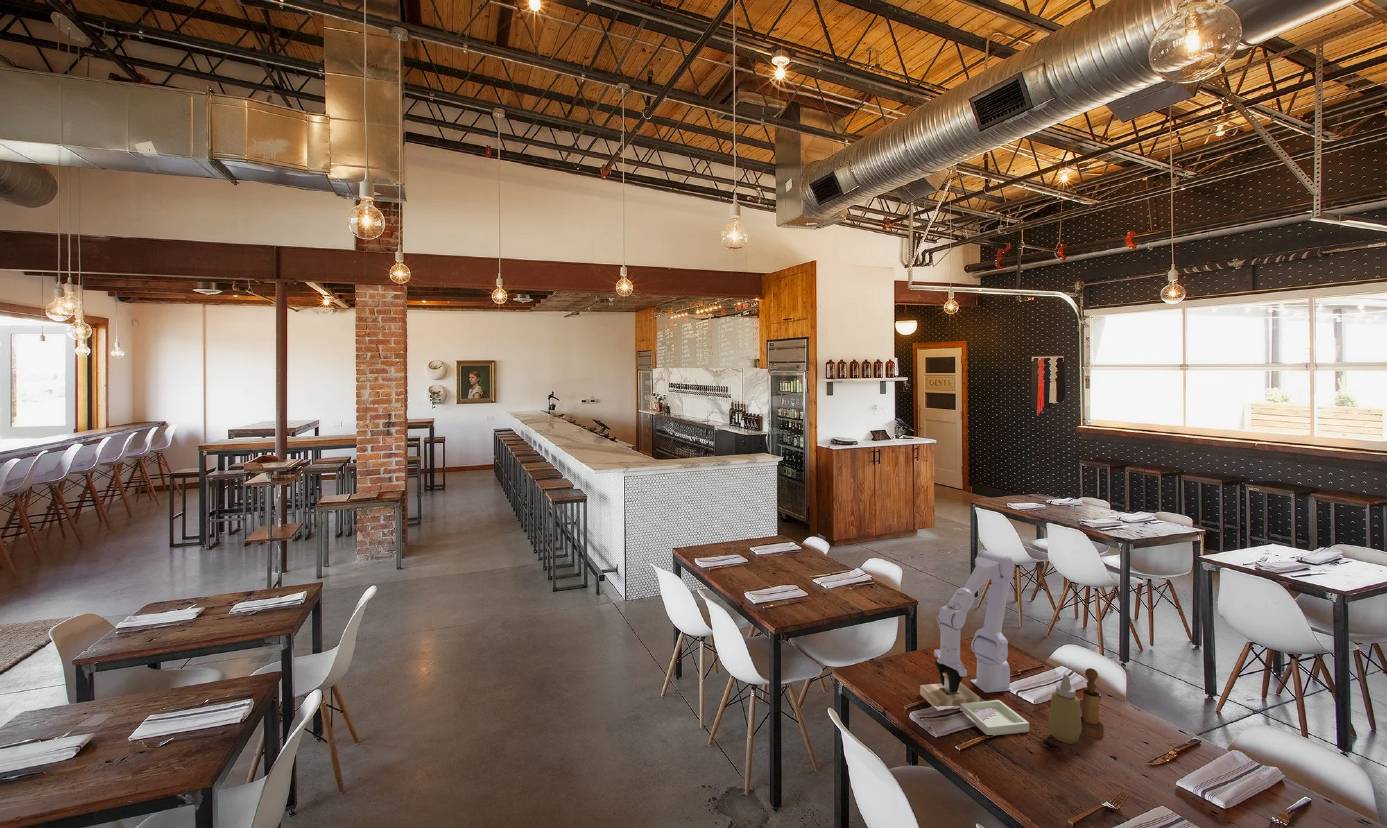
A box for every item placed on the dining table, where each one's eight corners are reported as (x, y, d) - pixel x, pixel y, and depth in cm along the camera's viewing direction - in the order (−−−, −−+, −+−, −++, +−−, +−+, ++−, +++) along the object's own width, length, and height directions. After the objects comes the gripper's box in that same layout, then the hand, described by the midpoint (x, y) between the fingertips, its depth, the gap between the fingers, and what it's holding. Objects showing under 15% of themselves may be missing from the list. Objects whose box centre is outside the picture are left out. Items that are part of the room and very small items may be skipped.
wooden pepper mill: (1108, 738, 169) (1109, 675, 168) (1082, 736, 170) (1084, 673, 169) (1097, 725, 175) (1099, 664, 174) (1072, 723, 176) (1074, 662, 176)
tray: (998, 707, 185) (999, 699, 185) (1029, 731, 172) (1029, 723, 172) (960, 711, 183) (960, 703, 183) (988, 735, 170) (988, 727, 170)
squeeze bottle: (1048, 741, 167) (1050, 678, 166) (1047, 727, 174) (1048, 666, 174) (1083, 749, 163) (1084, 684, 163) (1080, 734, 171) (1081, 672, 170)
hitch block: (959, 690, 195) (960, 681, 195) (979, 706, 186) (979, 697, 185) (920, 694, 193) (920, 685, 193) (937, 710, 183) (937, 701, 183)
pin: (951, 696, 192) (951, 669, 191) (958, 703, 188) (959, 675, 187) (939, 697, 191) (940, 670, 190) (947, 704, 187) (947, 676, 187)
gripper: (925, 637, 195) (925, 678, 196) (952, 656, 181) (951, 701, 181) (945, 635, 196) (945, 676, 197) (973, 655, 182) (972, 699, 182)
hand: (949, 688), depth 189 cm, fingers closed on pin, 4 cm apart
